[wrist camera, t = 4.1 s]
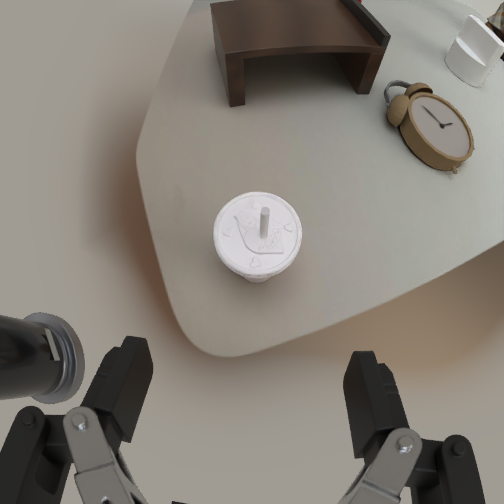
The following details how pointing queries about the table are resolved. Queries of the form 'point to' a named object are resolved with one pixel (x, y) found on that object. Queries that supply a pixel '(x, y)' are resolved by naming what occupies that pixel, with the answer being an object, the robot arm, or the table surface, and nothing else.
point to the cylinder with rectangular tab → (474, 52)
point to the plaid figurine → (497, 24)
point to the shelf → (297, 37)
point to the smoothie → (257, 235)
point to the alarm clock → (430, 126)
